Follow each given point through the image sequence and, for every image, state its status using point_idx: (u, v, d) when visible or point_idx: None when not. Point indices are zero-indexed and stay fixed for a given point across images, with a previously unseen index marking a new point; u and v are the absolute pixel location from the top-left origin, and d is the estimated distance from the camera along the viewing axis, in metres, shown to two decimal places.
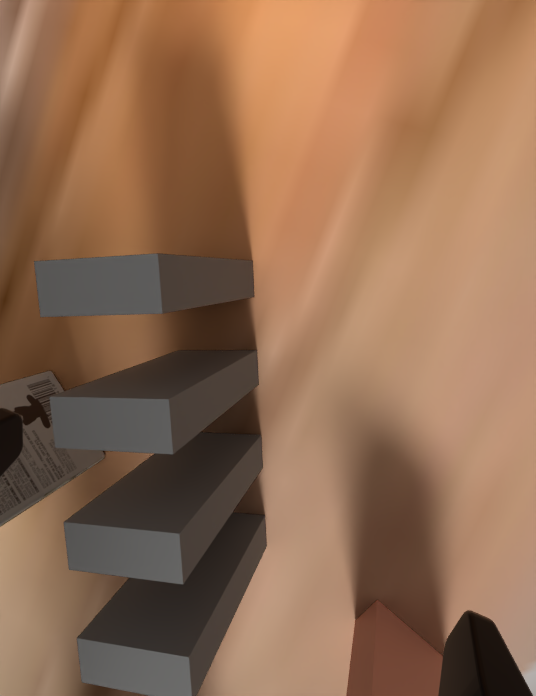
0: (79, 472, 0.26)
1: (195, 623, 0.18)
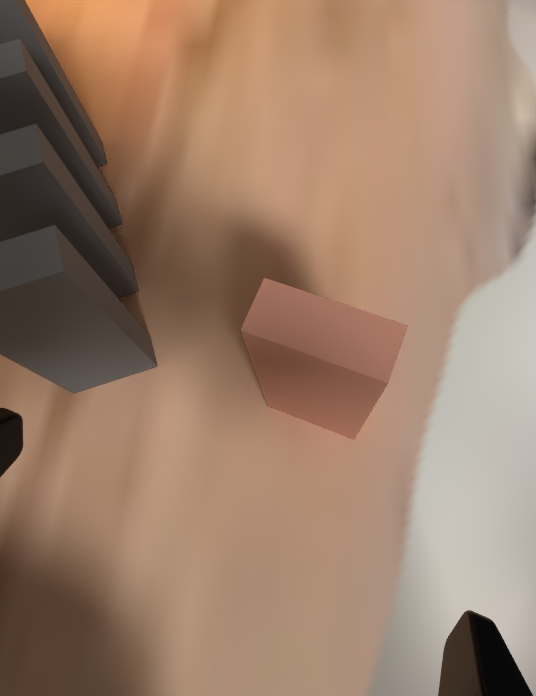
0: None
1: None
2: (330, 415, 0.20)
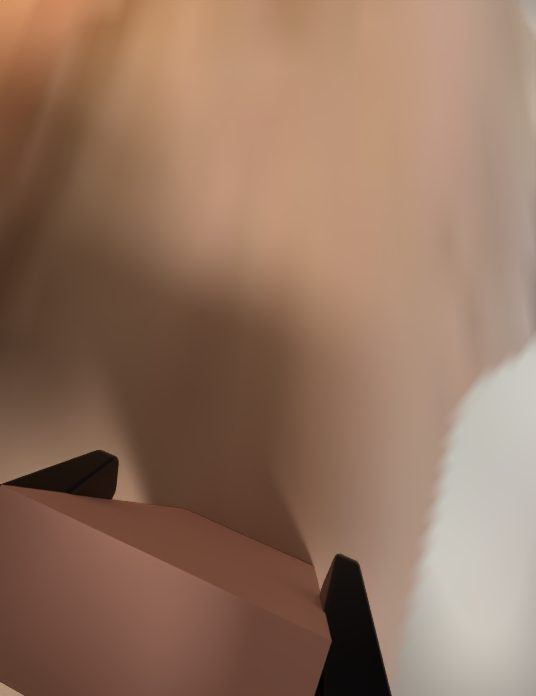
0: None
1: None
2: None
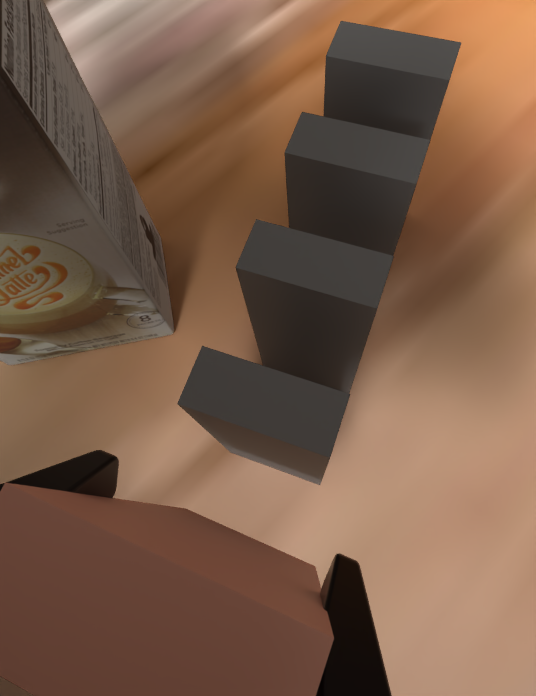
0: (161, 314, 0.23)
1: None
2: None
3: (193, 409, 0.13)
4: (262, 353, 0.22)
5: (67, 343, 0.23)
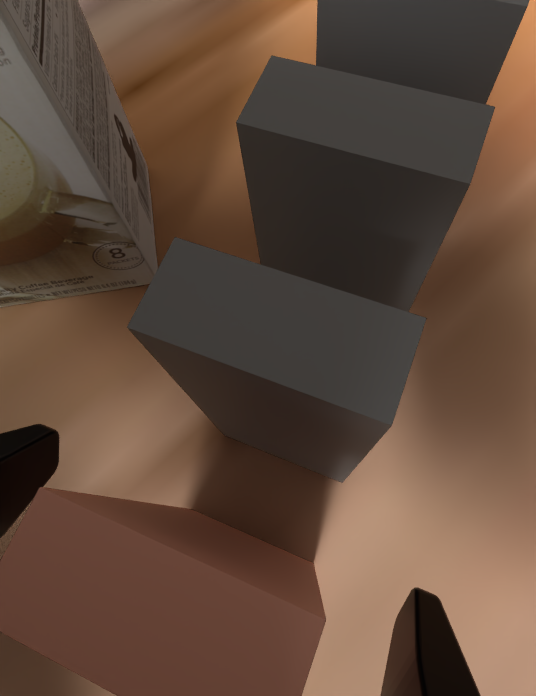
0: (138, 249, 0.17)
1: None
2: None
3: (154, 338, 0.08)
4: None
5: (16, 286, 0.18)
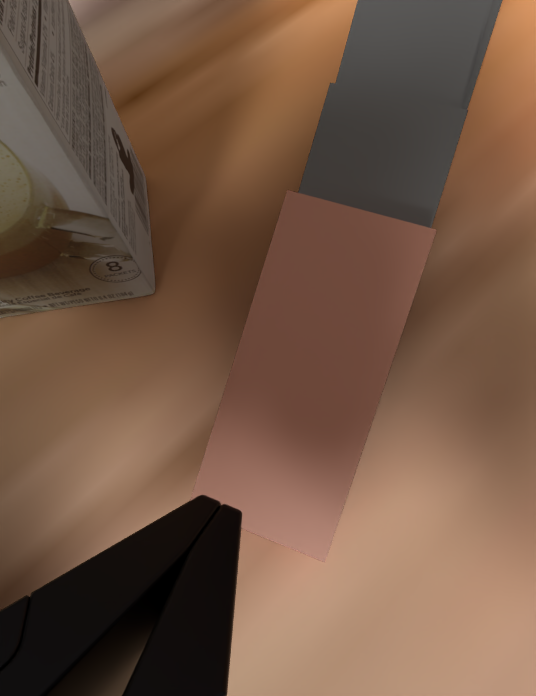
0: (135, 262, 0.17)
1: None
2: (315, 442, 0.14)
3: (343, 88, 0.16)
4: None
5: (14, 298, 0.18)
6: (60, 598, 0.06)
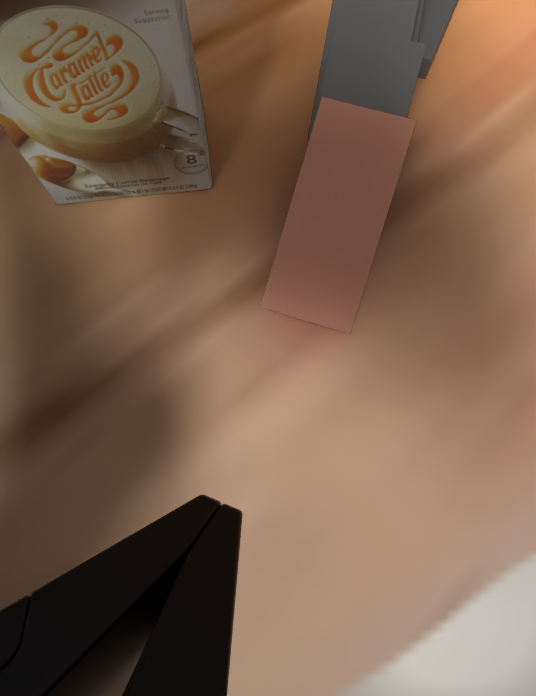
0: (206, 158, 0.25)
1: None
2: (343, 258, 0.22)
3: (345, 31, 0.24)
4: (318, 98, 0.26)
5: (115, 181, 0.25)
6: (60, 598, 0.06)
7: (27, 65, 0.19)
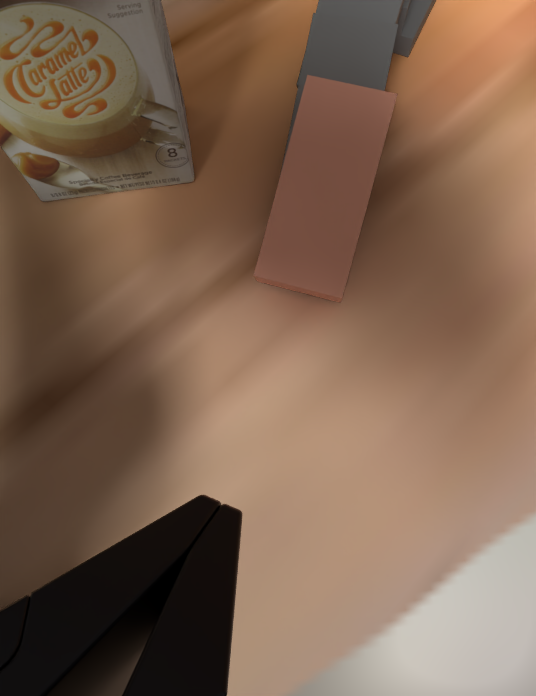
0: (186, 151, 0.25)
1: None
2: (332, 225, 0.23)
3: (321, 16, 0.25)
4: None
5: (99, 176, 0.26)
6: (60, 598, 0.06)
7: (6, 62, 0.19)
